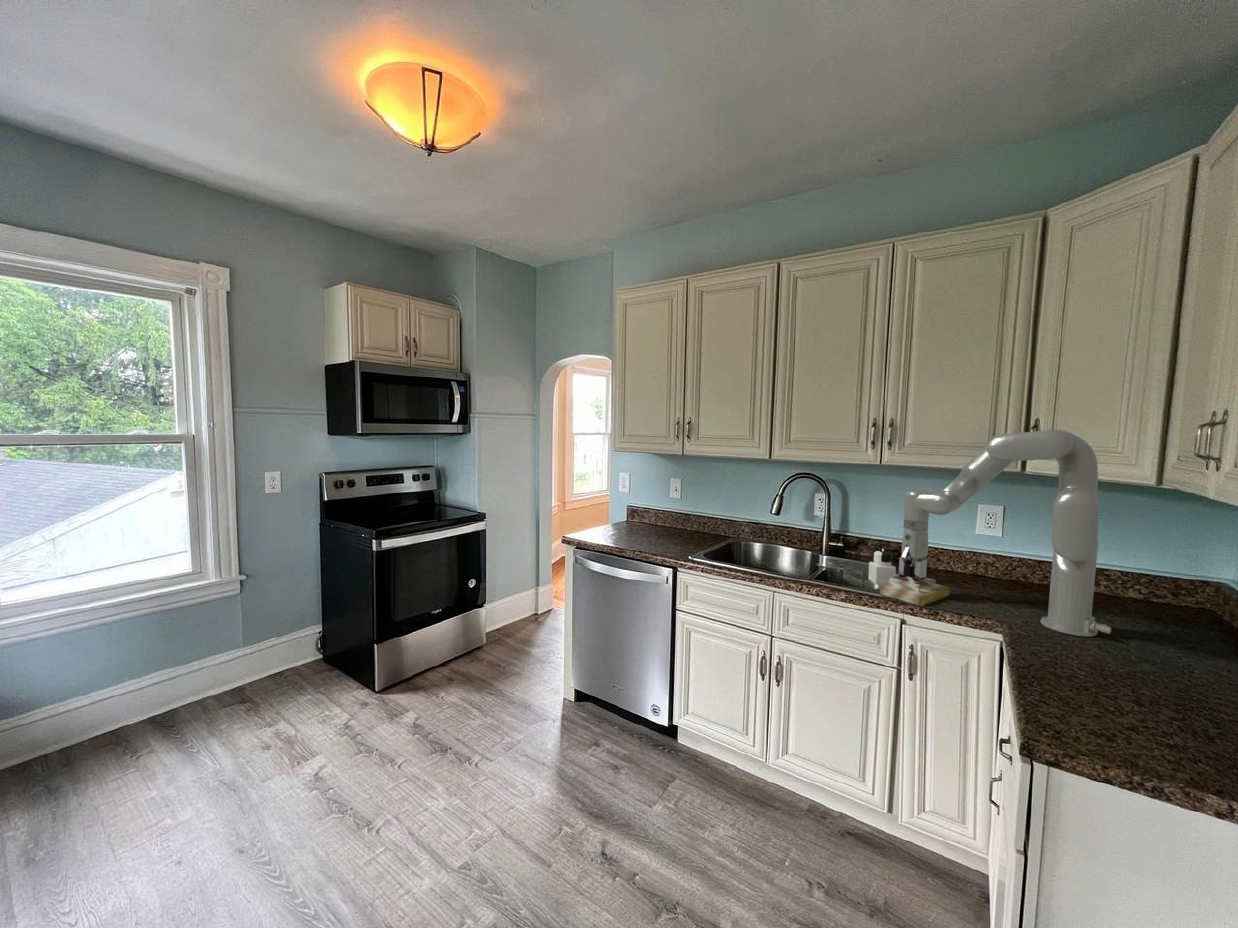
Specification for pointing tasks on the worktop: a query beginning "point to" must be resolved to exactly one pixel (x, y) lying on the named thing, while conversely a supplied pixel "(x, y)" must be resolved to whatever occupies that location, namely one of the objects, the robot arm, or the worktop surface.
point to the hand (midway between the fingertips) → (912, 574)
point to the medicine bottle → (881, 568)
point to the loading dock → (914, 590)
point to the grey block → (915, 569)
